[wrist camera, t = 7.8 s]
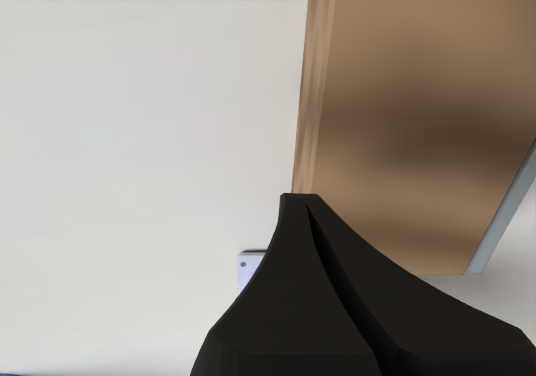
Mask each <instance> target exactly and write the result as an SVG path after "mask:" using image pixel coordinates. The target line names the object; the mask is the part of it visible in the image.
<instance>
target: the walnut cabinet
mask: <svg viewBox="0 0 536 376" xmlns="http://www.w3.org/2000/svg"><path fill="white" fill-rule="evenodd" d="M535 138H536V0H308V9H307V20H306V32H305V43H304V55H303V66H302V77H301V89H300V100H299V111H298V123H297V134H296V145H295V157H294V168H293V180H292V191H291V193H303V194H318V195H319V196H320V197H321V198H322V199H323V200H324V201H325V202H326V203H327V204H328V205H329V206H330V208H331V209H332V210H333V211H334V212H335V213H336V214H337V215H338V216H339V217H340V218H341V219H342V220H343V221H344V222H345V223H347V224H348V225H349V226H350V227H351V228H352V229H353V230H354V231H355V232H356V233H357V234H359V235H360V236H361V237H362V238H363V239H364V240H366V241H367V242H368V243H369V244H370V245H372V246H373V247H374V248H375V249H377V250H378V251H379V252H381V253H382V254H383V255H385V256H386V257H388V258H389V259H390V260H392V261H393V262H395V263H396V264H397V265H399V266H400V267H402V268H404V269H405V270H407V271H408V272H410V273H411V274H413V275H463V274H464V272H465V270H466V268H467V266H468V264H469V262H470V261H471V259H472V257H473V255H474V253H475V251H476V249H477V247H478V245H479V244H480V242H481V240H482V238H483V236H484V234H485V232H486V230H487V228H488V227H489V225H490V223H491V221H492V219H493V217H494V215H495V213H496V211H497V209H498V208H499V206H500V204H501V202H502V200H503V198H504V196H505V194H506V192H507V191H508V189H509V187H510V185H511V183H512V181H513V179H514V177H515V175H516V173H517V172H518V170H519V168H520V166H521V164H522V162H523V160H524V158H525V156H526V155H527V153H528V151H529V149H530V147H531V145H532V143H533V141H534V139H535Z"/></svg>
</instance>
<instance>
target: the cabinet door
mask: <svg viewBox="0 0 536 376" xmlns="http://www.w3.org/2000/svg"><path fill="white" fill-rule="evenodd" d="M535 177H536V138H535V139H534V141H533V143H532V145H531V147H530V149H529V151H528V153H527V155H526V156H525V158H524V160H523V162H522V164H521V166H520V168H519V170H518V172H517V173H516V175H515V177H514V179H513V181H512V183H511V185H510V187H509V189H508V191H507V192H506V194H505V196H504V198H503V200H502V202H501V204H500V206H499V208H498V209H497V211H496V213H495V215H494V217H493V219H492V221H491V223H490V225H489V227H488V228H487V230H486V232H485V234H484V236H483V238H482V240H481V242H480V244H479V245H478V247H477V249H476V251H475V253H474V255H473V257H472V259H471V261H470V262H469V264H468V266H467V268H466V271H467V272H468V273H481V272H482V270H483V269H484V267H485V265H486V263H487V261H488V260H489V258H490V256H491V254H492V253H493V251H494V249H495V247H496V246H497V244H498V242H499V240H500V239H501V237H502V235H503V233H504V231H505V230H506V228H507V226H508V224H509V223H510V221H511V219H512V217H513V216H514V214H515V212H516V210H517V209H518V207H519V205H520V203H521V201H522V200H523V198H524V196H525V194H526V193H527V191H528V189H529V187H530V186H531V184H532V182H533V180H534V178H535Z"/></svg>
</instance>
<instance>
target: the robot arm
mask: <svg viewBox="0 0 536 376" xmlns="http://www.w3.org/2000/svg"><path fill="white" fill-rule="evenodd" d="M242 262H245V263H242ZM237 265H238V297H237V298H236V300H235V301H234V302H233V304H232V305H231V306H230V307H229V309H228V310H227V311H226V312H225V313H224V314H223V315H222V317H221V318H220V319H219V320H218V321H217V322H216V323H215V325H214V326H213V327H212V328H211V329H210V330H209V332H208V334H207V336H206V338H205V340H204V343H203V345H202V347H201V349H200V351H199V354H198V356H197V358H196V360H195V363H194V365H193V368H192V371H191V374H190V376H536V347H535V346H534V345H533V343H532V342H531V341H530V340H529V339H528V337H527V336H526V335H525V334H524V333H523V331H522V330H521V329H520V328H517V327H515V326H513V325H511V324H509V323H506V322H504V321H502V320H500V319H497V318H495V317H493V316H491V315H489V314H486V313H484V312H482V311H480V310H478V309H475V308H473V307H471V306H469V305H467V304H465V303H463V302H461V301H459V300H457V299H455V298H454V297H452V296H450V295H448V294H446V293H444V292H442V291H440V290H439V289H437V288H435V287H433V286H431V285H430V284H428V283H426V282H424V281H423V280H421V279H420V278H418V277H416V276H415V275H413V274H411V273H410V272H408V271H407V270H405V269H404V268H402V267H400V266H399V265H397V264H396V263H395V262H393V261H392V260H390V259H389V258H388V257H386V256H385V255H383V254H382V253H381V252H379V251H378V250H377V249H375V248H374V247H373V246H372V245H370V244H369V243H368V242H367V241H366V240H364V239H363V238H362V237H361V236H360V235H359V234H357V233H356V232H355V231H354V230H353V229H352V228H351V227H350V226H349V225H348V224H347V223H345V222H344V221H343V220H342V219H341V218H340V217H339V216H338V215H337V214H336V213H335V212H334V211H333V210H332V209H331V208H330V206H329V205H328V204H327V203H326V202H325V201H324V200H323V199H322V198H321V197H320V196H319V195H318V194H303V193H283V194H282V195H281V196H280V206H279V217H278V223H277V226H276V229H275V232H274V234H273V237H272V239H271V242H270V244H269V246H268V249H267V251H266V252H247V253H240V254H239V255H238V257H237Z"/></svg>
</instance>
